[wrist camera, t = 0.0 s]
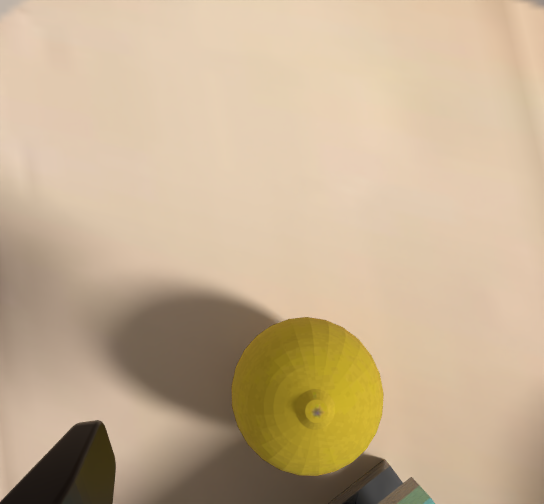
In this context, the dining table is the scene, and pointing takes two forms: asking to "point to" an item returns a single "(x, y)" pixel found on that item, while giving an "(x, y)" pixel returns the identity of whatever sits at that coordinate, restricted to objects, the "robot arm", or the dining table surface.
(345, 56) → the dining table surface
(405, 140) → the dining table surface
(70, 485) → the robot arm
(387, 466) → the teal tray on stand
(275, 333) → the lemon
